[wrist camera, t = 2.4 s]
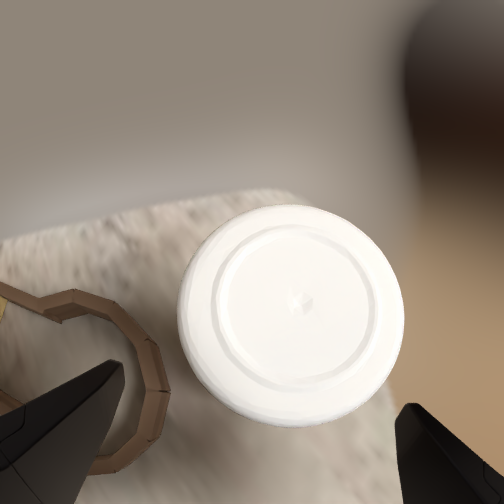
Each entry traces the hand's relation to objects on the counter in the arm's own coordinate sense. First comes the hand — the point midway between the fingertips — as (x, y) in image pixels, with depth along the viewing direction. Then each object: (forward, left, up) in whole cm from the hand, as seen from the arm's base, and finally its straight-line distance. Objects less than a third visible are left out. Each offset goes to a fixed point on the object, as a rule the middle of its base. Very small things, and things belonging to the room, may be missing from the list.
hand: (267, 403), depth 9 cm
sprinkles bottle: (+2, 0, -9) cm, 10 cm away
